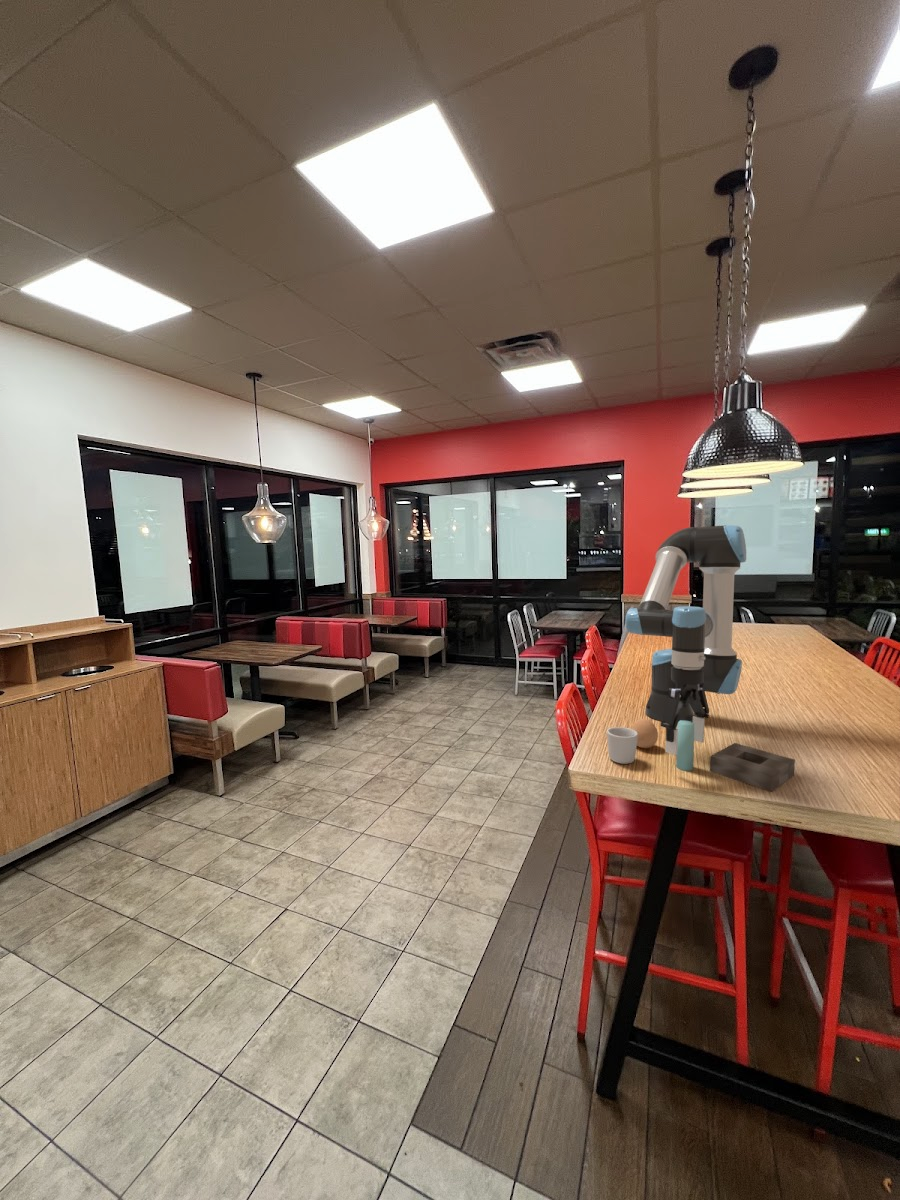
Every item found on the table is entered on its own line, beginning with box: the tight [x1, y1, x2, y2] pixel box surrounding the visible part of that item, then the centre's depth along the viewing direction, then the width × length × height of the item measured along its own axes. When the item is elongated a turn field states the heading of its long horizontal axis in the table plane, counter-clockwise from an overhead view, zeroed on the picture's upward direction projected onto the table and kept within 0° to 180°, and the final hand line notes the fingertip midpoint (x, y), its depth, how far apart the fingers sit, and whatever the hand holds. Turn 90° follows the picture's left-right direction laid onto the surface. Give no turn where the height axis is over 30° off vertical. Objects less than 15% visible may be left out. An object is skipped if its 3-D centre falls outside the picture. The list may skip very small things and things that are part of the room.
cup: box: [606, 726, 638, 765], centre depth 130 cm, size 11×8×8 cm
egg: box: [630, 717, 659, 749], centre depth 137 cm, size 7×7×8 cm
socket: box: [709, 742, 796, 793], centre depth 120 cm, size 14×14×4 cm
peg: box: [675, 720, 695, 772], centre depth 124 cm, size 4×4×12 cm
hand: (685, 747), depth 123 cm, fingers open, 13 cm apart
